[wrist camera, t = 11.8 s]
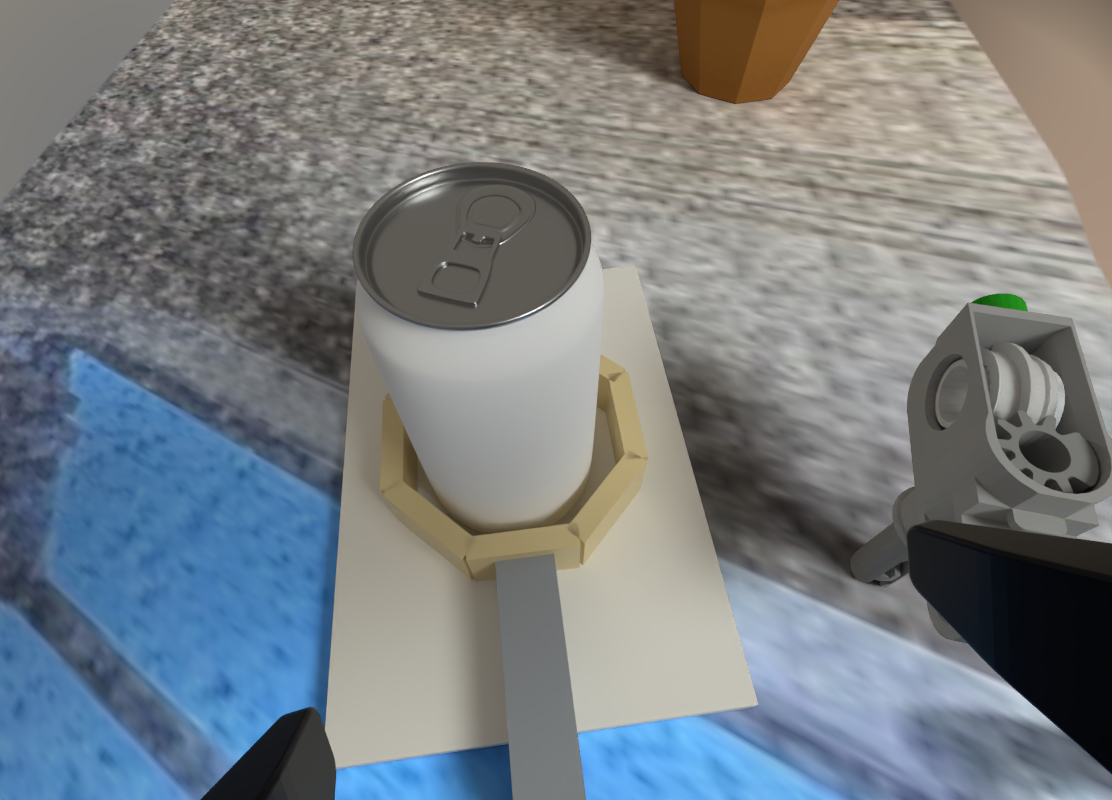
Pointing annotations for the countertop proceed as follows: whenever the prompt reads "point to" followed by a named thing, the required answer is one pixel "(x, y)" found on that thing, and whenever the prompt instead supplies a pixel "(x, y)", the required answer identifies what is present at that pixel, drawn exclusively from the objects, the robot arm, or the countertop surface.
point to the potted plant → (746, 44)
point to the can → (487, 336)
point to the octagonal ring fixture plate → (529, 589)
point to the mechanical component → (997, 436)
